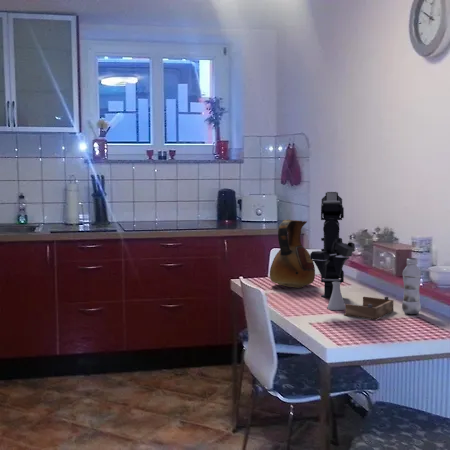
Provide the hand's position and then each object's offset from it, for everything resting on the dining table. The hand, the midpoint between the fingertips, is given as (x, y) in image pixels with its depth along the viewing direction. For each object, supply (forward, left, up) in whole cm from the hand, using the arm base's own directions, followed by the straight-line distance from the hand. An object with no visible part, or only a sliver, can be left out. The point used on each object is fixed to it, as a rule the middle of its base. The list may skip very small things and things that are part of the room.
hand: (331, 277), depth 235 cm
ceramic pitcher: (-30, -34, -12) cm, 46 cm away
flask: (-2, +1, -12) cm, 12 cm away
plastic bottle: (-9, +27, -12) cm, 31 cm away
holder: (-2, +14, -12) cm, 19 cm away
